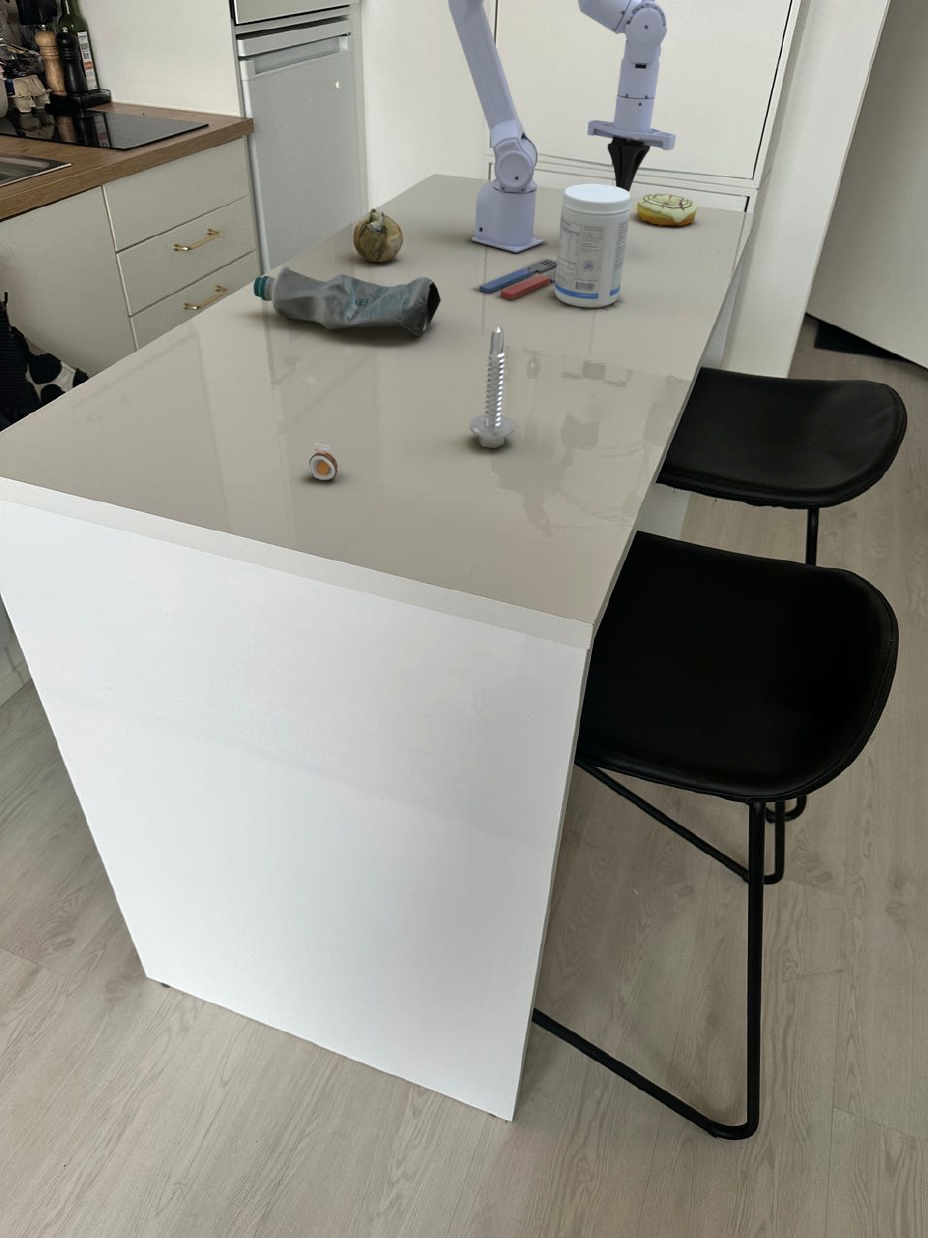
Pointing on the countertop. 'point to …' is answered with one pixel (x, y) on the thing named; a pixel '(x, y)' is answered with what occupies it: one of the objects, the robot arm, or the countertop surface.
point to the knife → (527, 286)
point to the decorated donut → (666, 209)
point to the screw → (493, 398)
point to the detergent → (350, 301)
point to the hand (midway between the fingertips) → (622, 191)
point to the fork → (517, 276)
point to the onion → (377, 237)
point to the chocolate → (323, 464)
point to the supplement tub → (591, 244)
